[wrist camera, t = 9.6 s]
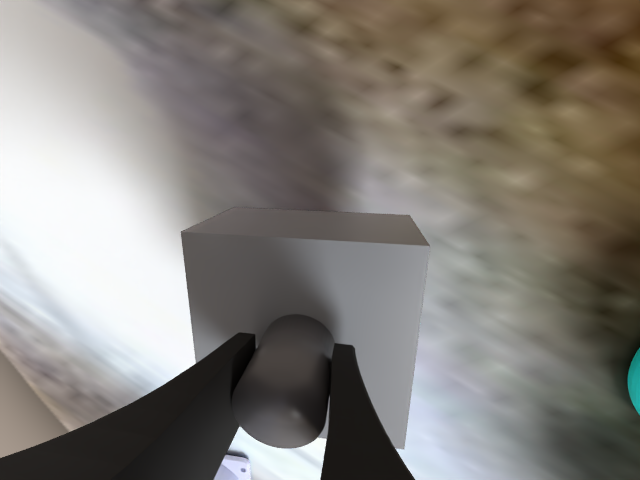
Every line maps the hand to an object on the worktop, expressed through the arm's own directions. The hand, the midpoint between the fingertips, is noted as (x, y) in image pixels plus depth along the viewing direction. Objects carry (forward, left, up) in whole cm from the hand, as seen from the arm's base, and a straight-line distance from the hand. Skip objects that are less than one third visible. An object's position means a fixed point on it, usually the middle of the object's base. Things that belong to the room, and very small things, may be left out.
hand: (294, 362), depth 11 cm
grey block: (0, 0, -6) cm, 6 cm away
